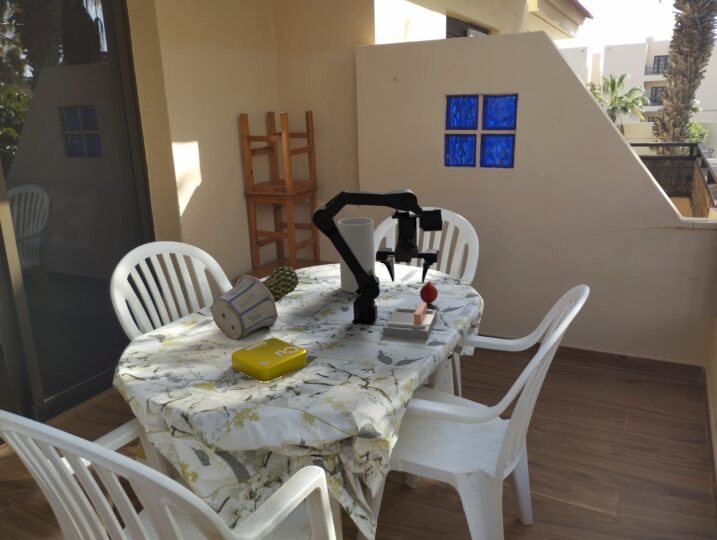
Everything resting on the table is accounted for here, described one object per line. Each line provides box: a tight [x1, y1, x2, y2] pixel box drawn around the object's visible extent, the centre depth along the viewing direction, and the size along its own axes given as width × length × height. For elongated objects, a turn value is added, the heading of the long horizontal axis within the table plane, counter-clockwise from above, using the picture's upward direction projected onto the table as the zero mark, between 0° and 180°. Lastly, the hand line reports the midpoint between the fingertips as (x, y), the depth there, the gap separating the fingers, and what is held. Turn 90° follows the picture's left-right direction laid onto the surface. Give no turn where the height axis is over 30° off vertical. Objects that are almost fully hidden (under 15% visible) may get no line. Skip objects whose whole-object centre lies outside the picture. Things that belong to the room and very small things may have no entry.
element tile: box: [230, 337, 308, 382], centre depth 150 cm, size 15×15×5 cm
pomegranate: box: [419, 280, 439, 305], centre depth 189 cm, size 6×6×8 cm
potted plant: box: [210, 265, 300, 340], centre depth 175 cm, size 18×18×30 cm
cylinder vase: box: [337, 217, 376, 294], centre depth 205 cm, size 12×12×25 cm
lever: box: [414, 302, 428, 324], centre depth 170 cm, size 2×10×3 cm, turn 163°
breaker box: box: [382, 306, 438, 340], centre depth 172 cm, size 13×17×3 cm
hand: (408, 282), depth 175 cm, fingers open, 9 cm apart
